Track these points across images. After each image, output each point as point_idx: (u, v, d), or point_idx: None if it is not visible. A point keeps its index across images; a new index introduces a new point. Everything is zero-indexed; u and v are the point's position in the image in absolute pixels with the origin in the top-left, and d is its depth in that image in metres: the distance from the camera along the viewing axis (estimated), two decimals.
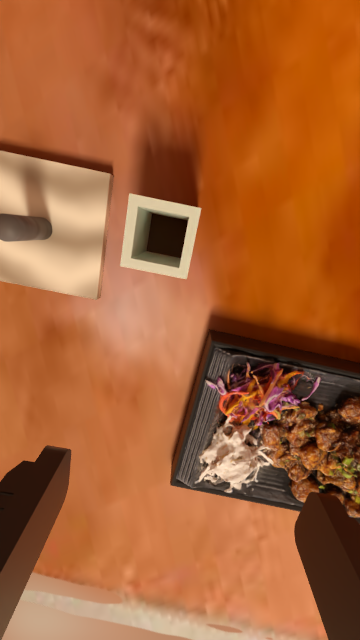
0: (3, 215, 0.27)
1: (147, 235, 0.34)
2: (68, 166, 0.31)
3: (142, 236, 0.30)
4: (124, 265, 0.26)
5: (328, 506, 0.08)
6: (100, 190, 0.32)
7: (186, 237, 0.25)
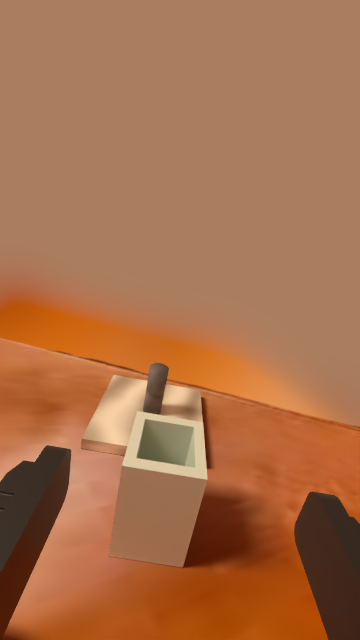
0: (167, 368, 0.38)
1: None
2: None
3: None
4: (137, 413, 0.26)
5: (328, 506, 0.08)
6: None
7: (172, 465, 0.21)
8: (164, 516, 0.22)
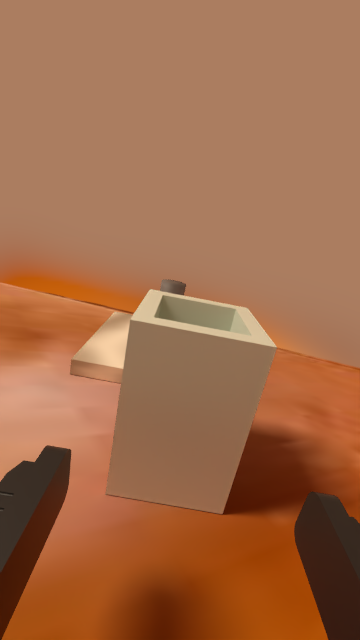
0: (184, 284, 0.30)
1: None
2: None
3: None
4: (151, 290, 0.17)
5: (328, 506, 0.08)
6: None
7: (214, 329, 0.13)
8: (198, 420, 0.13)
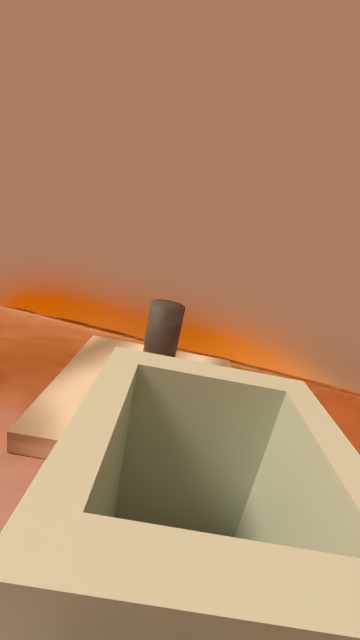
0: (182, 306, 0.21)
1: None
2: None
3: (171, 495, 0.10)
4: (117, 351, 0.09)
5: None
6: None
7: (278, 553, 0.04)
8: None
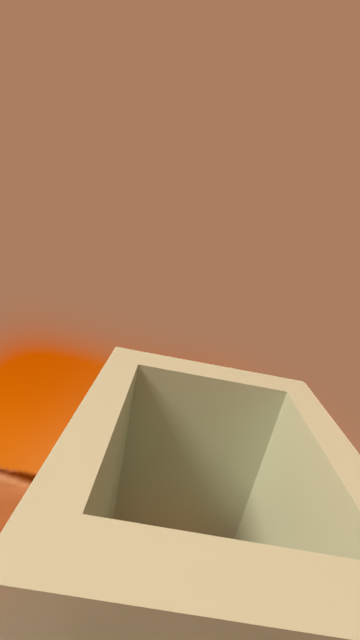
0: None
1: None
2: None
3: (171, 496, 0.10)
4: (116, 352, 0.09)
5: None
6: None
7: (279, 555, 0.04)
8: None
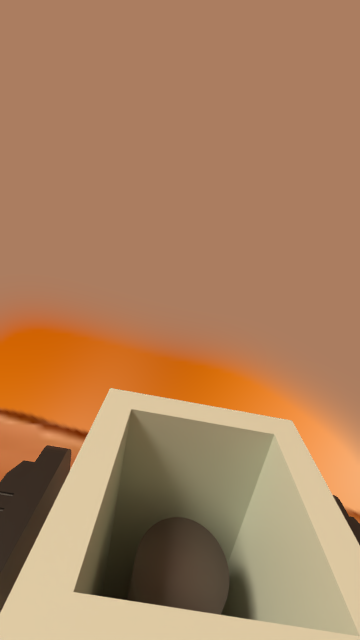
0: (221, 564, 0.08)
1: None
2: None
3: None
4: (111, 395, 0.09)
5: None
6: None
7: (253, 630, 0.04)
8: None
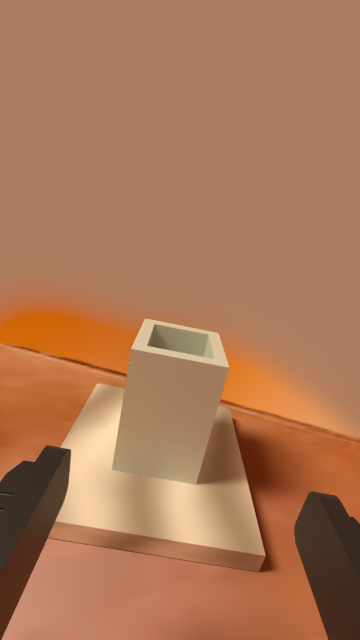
0: None
1: None
2: (246, 487, 0.22)
3: None
4: (146, 320, 0.23)
5: (328, 506, 0.08)
6: (232, 535, 0.18)
7: (188, 354, 0.18)
8: (177, 417, 0.19)
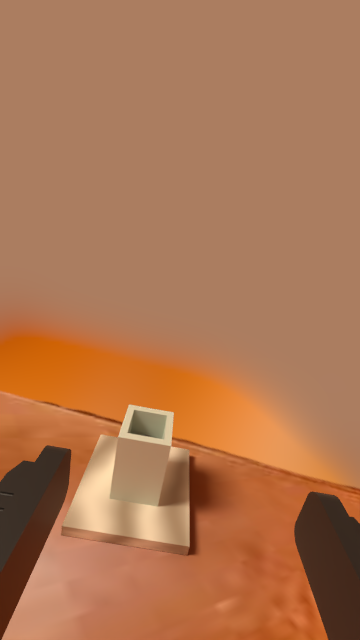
0: None
1: None
2: (188, 507, 0.37)
3: None
4: (129, 406, 0.39)
5: (328, 506, 0.08)
6: (173, 535, 0.33)
7: (149, 437, 0.34)
8: (145, 470, 0.34)
